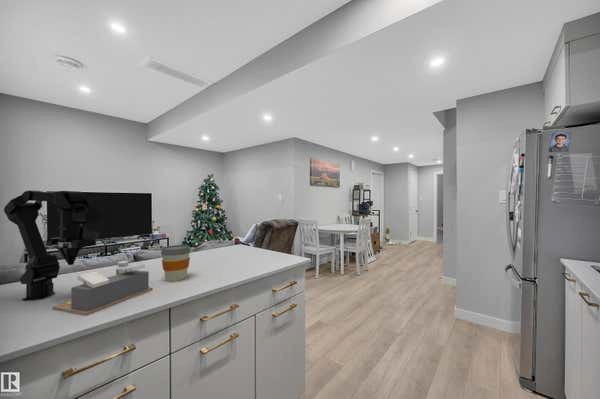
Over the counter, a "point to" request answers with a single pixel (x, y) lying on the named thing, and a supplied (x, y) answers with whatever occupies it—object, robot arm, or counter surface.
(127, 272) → the rocker
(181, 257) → the reusable coffee cup
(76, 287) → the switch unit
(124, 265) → the supplement bottle
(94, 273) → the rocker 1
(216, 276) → the counter surface
